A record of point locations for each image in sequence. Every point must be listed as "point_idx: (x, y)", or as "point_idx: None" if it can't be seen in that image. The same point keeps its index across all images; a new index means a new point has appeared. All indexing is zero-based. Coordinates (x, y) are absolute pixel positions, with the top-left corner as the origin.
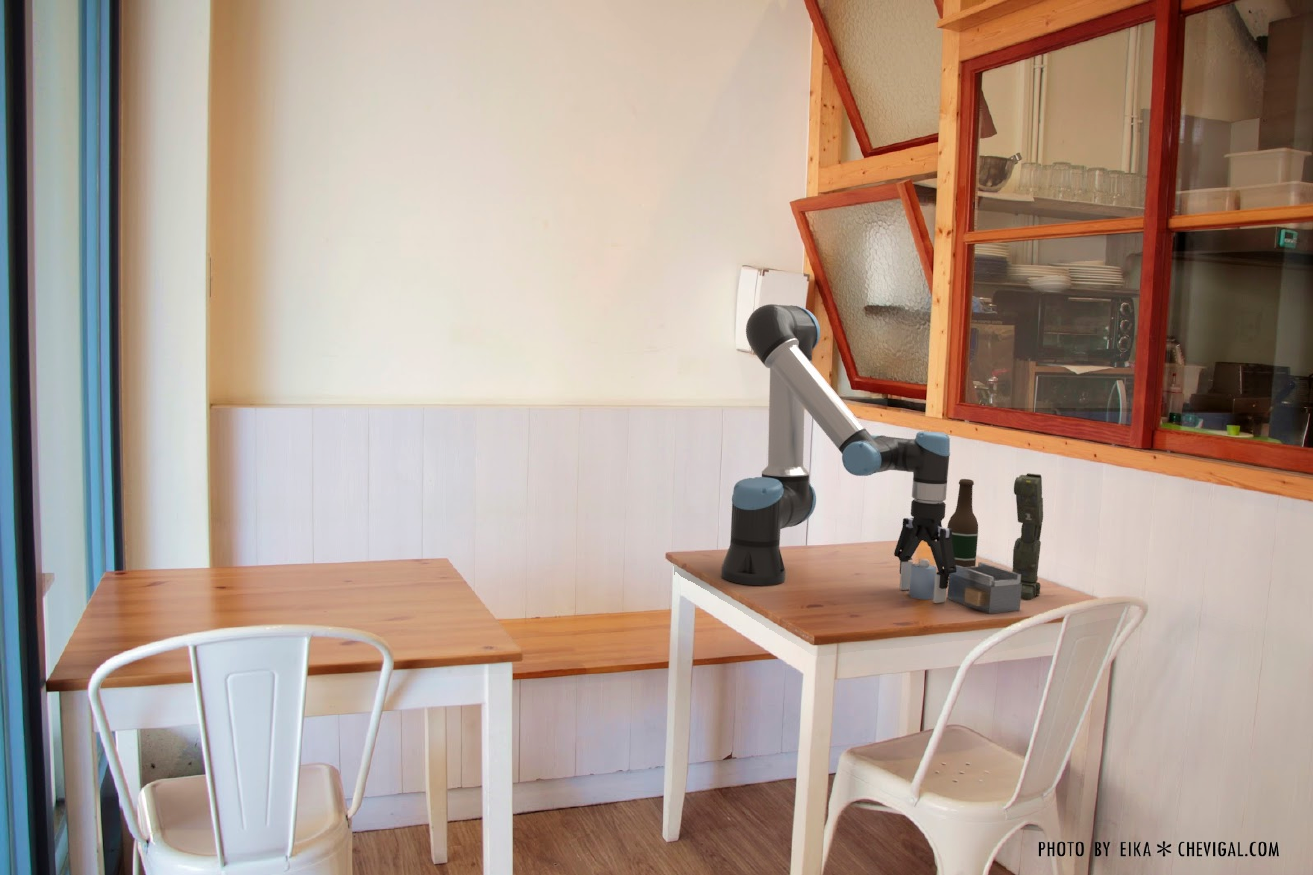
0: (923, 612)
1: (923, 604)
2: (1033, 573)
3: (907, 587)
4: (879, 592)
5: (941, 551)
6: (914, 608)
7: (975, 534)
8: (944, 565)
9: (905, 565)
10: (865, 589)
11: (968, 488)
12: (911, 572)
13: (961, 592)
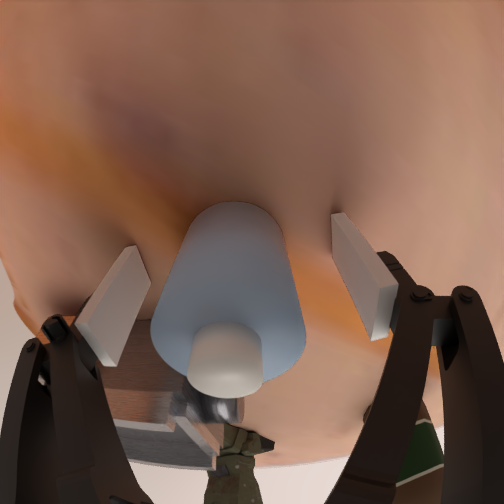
0: (34, 150)
1: (118, 195)
2: (208, 475)
3: (333, 245)
4: (329, 98)
5: (18, 427)
6: (71, 135)
7: None
8: (28, 364)
9: (371, 289)
10: (383, 71)
11: None
12: (243, 257)
13: (129, 346)
